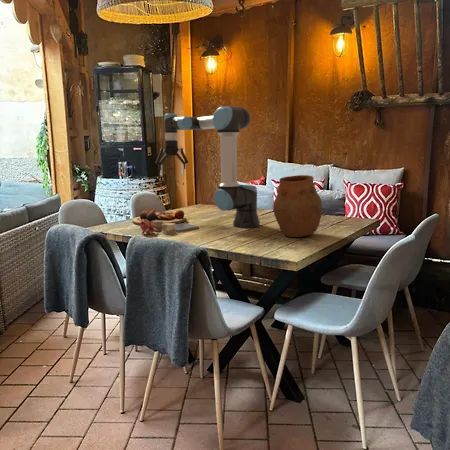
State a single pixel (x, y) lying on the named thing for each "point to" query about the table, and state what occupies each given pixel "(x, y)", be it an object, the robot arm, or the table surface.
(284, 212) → the pot
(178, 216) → the wooden plate with food
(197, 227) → the slate mat
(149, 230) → the flower
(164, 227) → the beech block
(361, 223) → the table surface
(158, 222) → the walnut block
